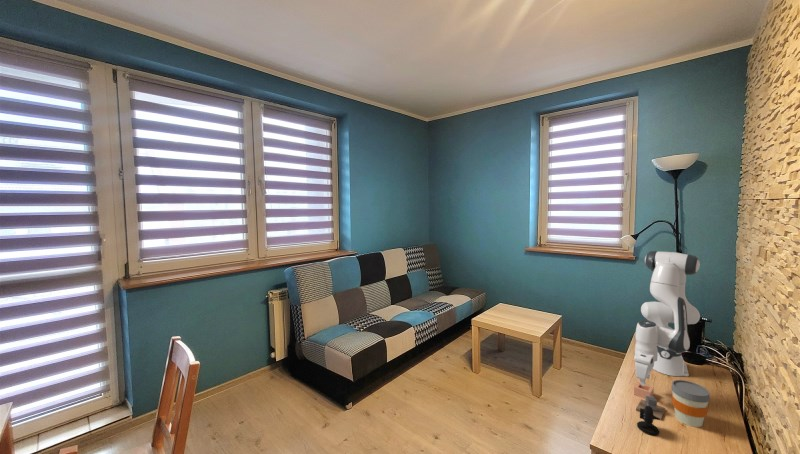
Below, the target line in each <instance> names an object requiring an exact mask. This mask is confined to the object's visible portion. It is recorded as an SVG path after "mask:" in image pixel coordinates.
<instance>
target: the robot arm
mask: <svg viewBox="0 0 800 454" xmlns="http://www.w3.org/2000/svg"><path fill="white" fill-rule="evenodd" d="M644 263H645V266H646V267H647V268H648V270H650V271H651V272H652V275H651V278H650V283H649V292H650V295H651V296H652V297H653V298H654V299H655V300H656V301H645V302H644V303H642V305H641V307H640V312H641V315H642V316H643V317H644V319H645V320H644V319H643V320H639V321H638V322H637V324H636V328H635V335H634V336H635V338H634V339H635V344H634V357H633V361H635V364H634V365H635V375H636V378H637V379H639V381H640V382H639V383H640V384H641V385H642V386H645V385H646V380H649V379H650V377H651V376H650V375H651V373H652V370H654V371H656V372H658V373H661V374H664V375H665V376H667V375H668V376H670V377H689V376H690V374H689V370H688V366H687V364H686V363H685V360H684V358H683V355H682V353H685V352H687V351H689V349H690V346H691V345H690V344H691V341H690V336H689V328H688V326H689V325H695V324H697V323H698V322H699V321H700V320H701V319H700V318H701V315H700V312H699V310H698V309H697V308H696V307H695V306H694V305H692V304H691V302H689V301H688V299H687V296H686V283H687V276H693V275H695V274H697V272H698V271H699V269H700V266H701V264H700V263H701V262H700V260H699V258H698V257H697V256H696V255H693V254H685V253H680V252H676V251H672V252H671V251H658V250H651V251H648V252H647V253H646V255H645V257H644ZM669 324H674V327H673V328H672V327H671V326H669Z"/></svg>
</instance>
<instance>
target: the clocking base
mask: <svg viewBox="0 0 800 454" xmlns="http://www.w3.org/2000/svg"><path fill="white" fill-rule="evenodd" d="M640 399H641V398H640ZM646 406H650V407H651V408H652V410H653V415H654V416H655V417H657V418H659V419H660V420H659V421H662V418H663V416H664V414H665V412H666V408H665V407H663V406H660V405H659V404H658V401H657V399H656V397H655V396H654V395H653V396H646V399H643V398H642V399H641V400H640V401H639V403H638V405H637V406H636V409H635V411H636V412H639V413H640V408H642V409H644V408H645V407H646Z"/></svg>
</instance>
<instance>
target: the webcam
mask: <svg viewBox="0 0 800 454" xmlns="http://www.w3.org/2000/svg"><path fill="white" fill-rule="evenodd" d="M639 419H641V421H638V422H637V423H636V426H637V428H638V429H639V430H640V431H641V432H642V433H644V434H647V435H649V436H658V435H659V434H660V430H659V428H658V427H657V426H656V425H654V423H653V422H654V420H656V421H661V420H660V419H659V418H657V417H655V416H654V415H653V410H652V408H651V407H650V406H646V407H645V408H644V409H642V408H640V412H639ZM646 428H647V429H646ZM648 429H650V430H648Z"/></svg>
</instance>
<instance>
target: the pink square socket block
mask: <svg viewBox="0 0 800 454" xmlns="http://www.w3.org/2000/svg"><path fill="white" fill-rule="evenodd" d="M654 391H655V388H654V387H653V386H650V385H648V384H645V386H642V385H641V384H640V382H639V381H637V382H636V384H635V385H634V386H633V395H634V396H635V397H636V396H637V397H639V398H642V399H643V400H645V399H646V396H653V397H654V393H655V392H654Z"/></svg>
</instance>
